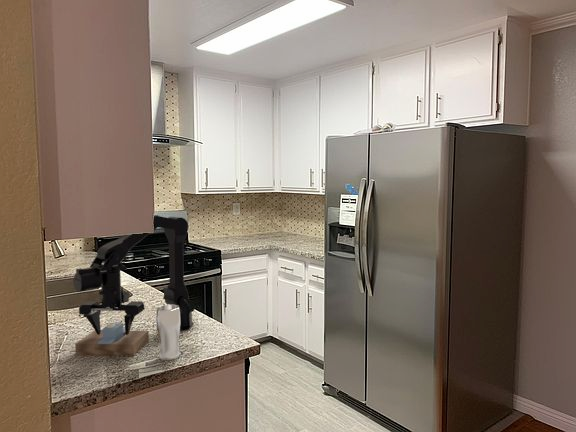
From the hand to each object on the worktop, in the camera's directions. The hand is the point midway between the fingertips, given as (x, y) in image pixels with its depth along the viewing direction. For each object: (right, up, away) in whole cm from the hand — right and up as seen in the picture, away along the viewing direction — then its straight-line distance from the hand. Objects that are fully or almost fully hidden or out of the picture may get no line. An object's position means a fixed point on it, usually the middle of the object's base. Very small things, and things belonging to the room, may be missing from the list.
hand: (113, 334), depth 137 cm
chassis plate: (0, -4, 0) cm, 4 cm away
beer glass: (+20, -5, -7) cm, 21 cm away
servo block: (0, -4, 0) cm, 4 cm away
